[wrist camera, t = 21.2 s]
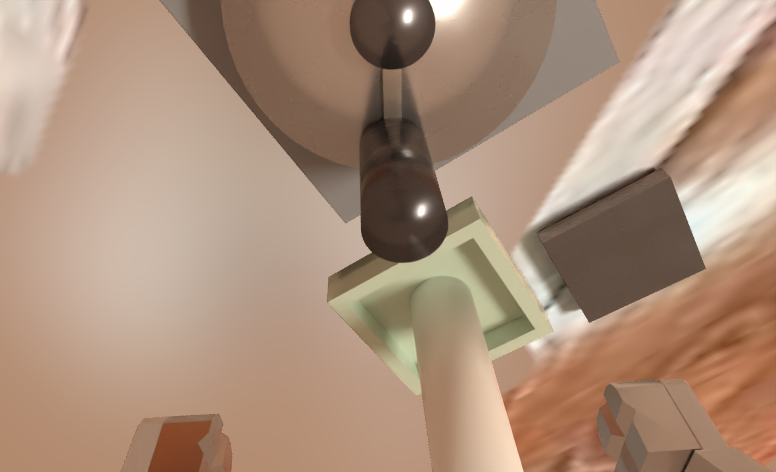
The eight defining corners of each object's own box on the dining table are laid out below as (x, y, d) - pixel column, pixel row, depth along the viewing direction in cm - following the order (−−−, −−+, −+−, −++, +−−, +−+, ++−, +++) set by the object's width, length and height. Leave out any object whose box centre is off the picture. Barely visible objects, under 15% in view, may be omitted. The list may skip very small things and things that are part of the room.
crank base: (138, -54, 21) (117, -48, 19) (450, -323, 17) (461, -346, 16) (345, 202, 28) (345, 225, 26) (601, 49, 24) (621, 63, 22)
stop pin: (397, 295, 30) (425, 552, 19) (453, 265, 30) (519, 517, 18) (429, 333, 32) (473, 590, 20) (483, 306, 31) (561, 560, 20)
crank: (257, 169, 24) (223, 271, 18) (197, -182, 17) (109, -217, 11) (523, 158, 24) (582, 254, 18) (569, -188, 18) (688, -225, 11)
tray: (328, 277, 30) (327, 302, 29) (471, 196, 28) (480, 218, 26) (412, 368, 35) (416, 395, 33) (542, 305, 33) (553, 331, 31)
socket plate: (537, 232, 30) (542, 243, 29) (660, 168, 28) (670, 177, 27) (583, 311, 33) (589, 322, 32) (696, 258, 31) (705, 268, 30)
